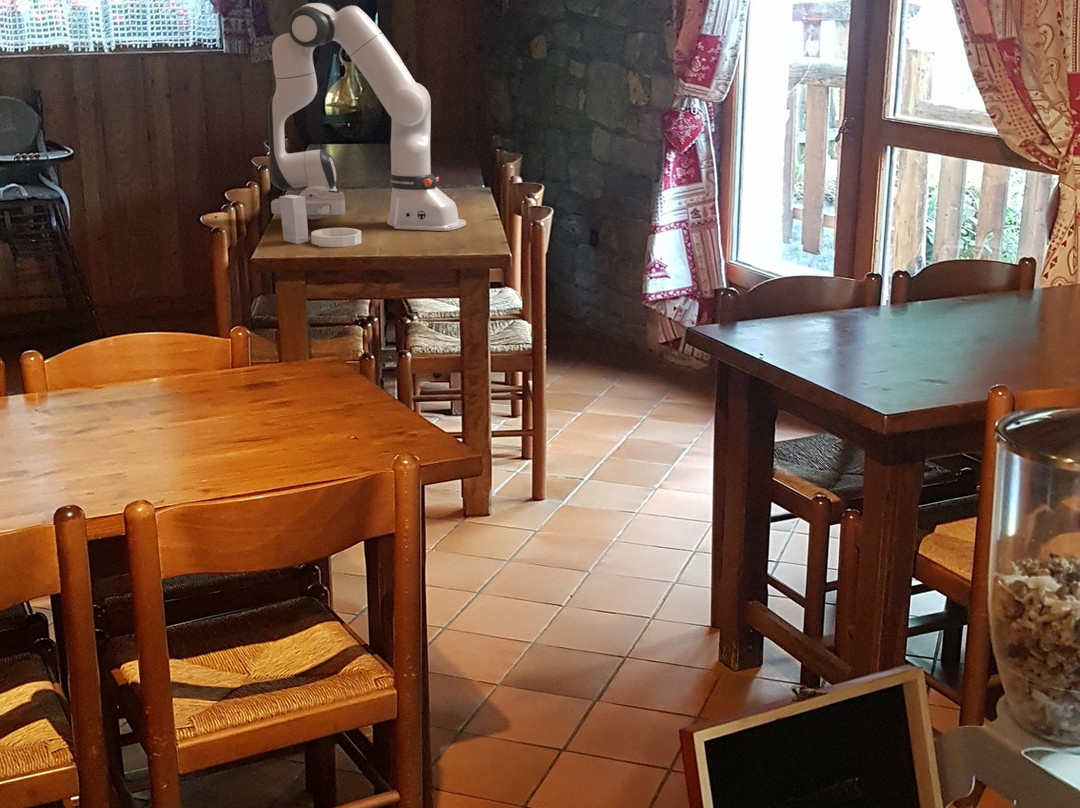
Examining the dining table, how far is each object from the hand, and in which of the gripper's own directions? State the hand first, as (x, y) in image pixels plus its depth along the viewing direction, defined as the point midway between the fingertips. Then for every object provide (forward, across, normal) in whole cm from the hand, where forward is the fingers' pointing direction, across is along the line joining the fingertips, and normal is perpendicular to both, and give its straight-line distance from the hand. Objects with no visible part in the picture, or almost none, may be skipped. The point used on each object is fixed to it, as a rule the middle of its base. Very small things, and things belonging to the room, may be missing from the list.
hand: (302, 211), depth 334 cm
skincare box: (+9, 0, +7) cm, 11 cm away
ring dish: (+9, +11, +6) cm, 15 cm away
